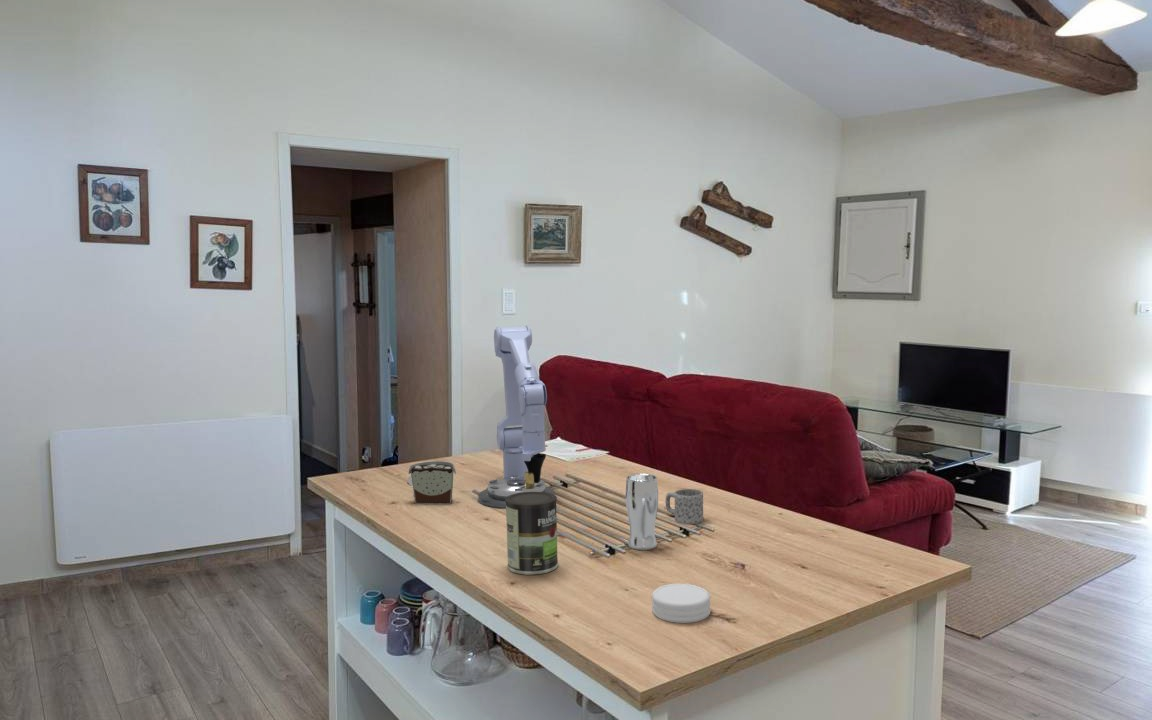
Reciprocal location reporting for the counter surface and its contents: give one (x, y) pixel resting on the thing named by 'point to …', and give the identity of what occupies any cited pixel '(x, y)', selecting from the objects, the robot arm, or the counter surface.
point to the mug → (686, 506)
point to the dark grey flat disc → (497, 503)
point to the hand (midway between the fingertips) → (534, 482)
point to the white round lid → (681, 603)
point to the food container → (432, 482)
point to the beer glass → (642, 510)
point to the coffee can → (531, 532)
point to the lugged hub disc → (514, 486)
